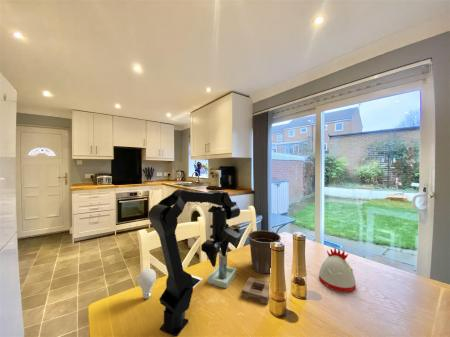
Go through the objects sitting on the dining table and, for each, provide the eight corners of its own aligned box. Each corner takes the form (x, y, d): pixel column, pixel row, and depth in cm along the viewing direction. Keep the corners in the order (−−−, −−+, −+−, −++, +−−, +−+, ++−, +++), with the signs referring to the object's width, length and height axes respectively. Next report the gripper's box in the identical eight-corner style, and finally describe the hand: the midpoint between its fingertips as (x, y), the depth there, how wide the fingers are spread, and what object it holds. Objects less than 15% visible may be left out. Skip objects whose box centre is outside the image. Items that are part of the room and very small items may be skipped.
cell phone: (163, 295, 76) (164, 294, 76) (189, 275, 90) (189, 274, 90) (179, 302, 73) (179, 300, 73) (203, 280, 87) (203, 278, 87)
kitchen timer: (354, 296, 76) (354, 258, 76) (316, 283, 84) (316, 249, 84) (356, 280, 87) (356, 246, 87) (322, 269, 95) (323, 239, 95)
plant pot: (275, 280, 86) (275, 244, 86) (242, 270, 94) (242, 237, 94) (284, 264, 100) (284, 233, 100) (254, 257, 108) (254, 228, 108)
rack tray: (226, 288, 80) (226, 282, 80) (207, 283, 84) (207, 277, 84) (236, 273, 91) (236, 268, 91) (219, 269, 95) (219, 264, 95)
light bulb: (150, 290, 79) (150, 263, 79) (159, 297, 75) (159, 269, 75) (134, 298, 74) (134, 270, 74) (142, 306, 70) (142, 276, 69)
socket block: (267, 304, 71) (267, 297, 71) (241, 296, 75) (241, 290, 75) (272, 288, 80) (272, 282, 80) (249, 282, 84) (249, 276, 84)
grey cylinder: (227, 279, 86) (227, 252, 86) (218, 279, 85) (219, 252, 85) (226, 274, 90) (226, 248, 89) (218, 274, 89) (218, 249, 89)
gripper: (228, 232, 65) (228, 278, 65) (245, 218, 82) (245, 255, 82) (200, 227, 70) (200, 270, 70) (222, 215, 87) (222, 250, 87)
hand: (219, 261), depth 77 cm, fingers open, 9 cm apart
